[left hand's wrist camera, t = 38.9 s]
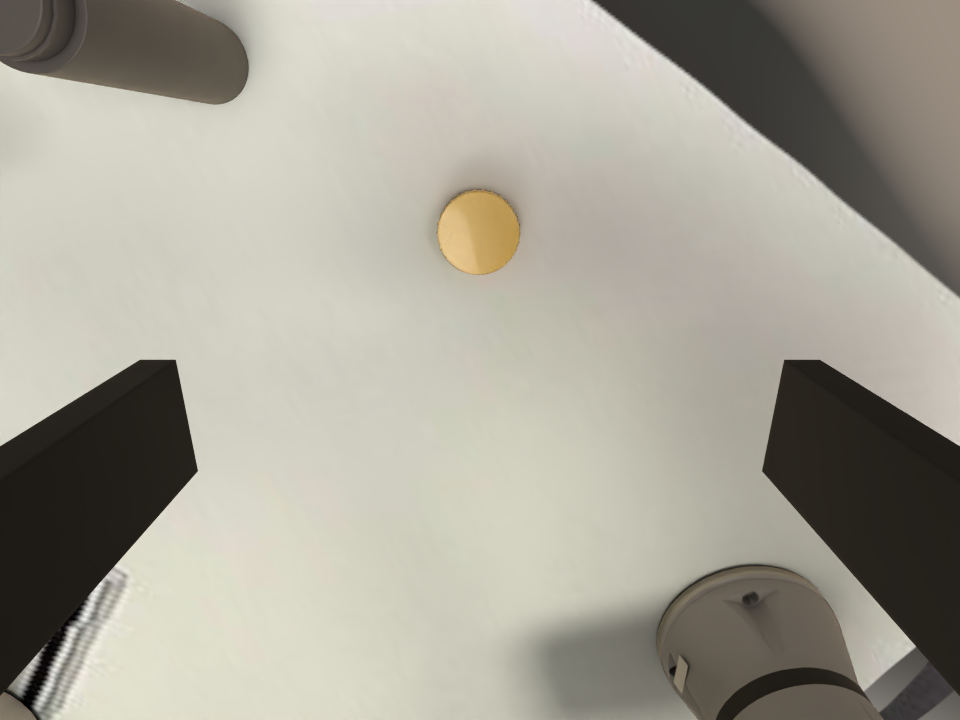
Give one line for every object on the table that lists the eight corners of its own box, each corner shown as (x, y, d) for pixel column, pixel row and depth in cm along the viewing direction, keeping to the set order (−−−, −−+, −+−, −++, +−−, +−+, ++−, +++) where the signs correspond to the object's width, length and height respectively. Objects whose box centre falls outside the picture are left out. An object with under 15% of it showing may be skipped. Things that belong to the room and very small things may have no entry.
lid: (463, 284, 40) (463, 290, 38) (423, 214, 38) (420, 217, 36) (532, 246, 39) (535, 250, 37) (494, 172, 37) (495, 174, 36)
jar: (195, -1, 34) (-60, -136, 18) (263, 56, 35) (80, -22, 19) (156, 67, 35) (-114, -1, 19) (223, 121, 36) (19, 98, 20)
